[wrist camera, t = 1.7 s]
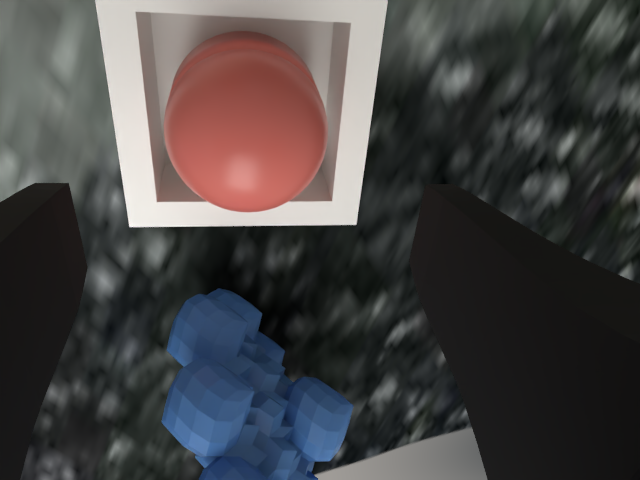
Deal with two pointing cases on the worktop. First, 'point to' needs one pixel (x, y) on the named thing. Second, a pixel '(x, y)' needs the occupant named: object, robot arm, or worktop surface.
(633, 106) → the worktop surface
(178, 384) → the grapes
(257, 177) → the dome button
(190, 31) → the dome base
